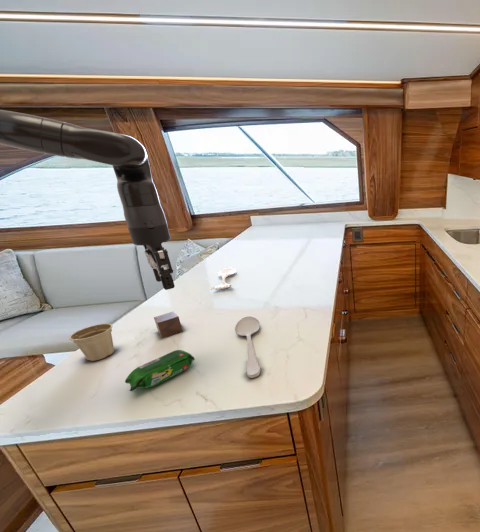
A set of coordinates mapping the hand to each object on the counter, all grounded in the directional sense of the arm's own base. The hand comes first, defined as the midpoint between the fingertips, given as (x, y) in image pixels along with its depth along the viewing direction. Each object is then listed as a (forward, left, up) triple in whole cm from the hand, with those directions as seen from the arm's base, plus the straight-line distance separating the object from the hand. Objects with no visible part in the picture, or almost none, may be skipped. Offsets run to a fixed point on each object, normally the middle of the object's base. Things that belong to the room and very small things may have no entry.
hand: (165, 284), depth 78 cm
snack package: (-6, 0, -26) cm, 27 cm away
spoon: (+16, -3, -26) cm, 31 cm away
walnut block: (+1, +28, -26) cm, 38 cm away
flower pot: (-17, +28, -26) cm, 42 cm away
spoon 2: (+32, +66, -26) cm, 78 cm away
